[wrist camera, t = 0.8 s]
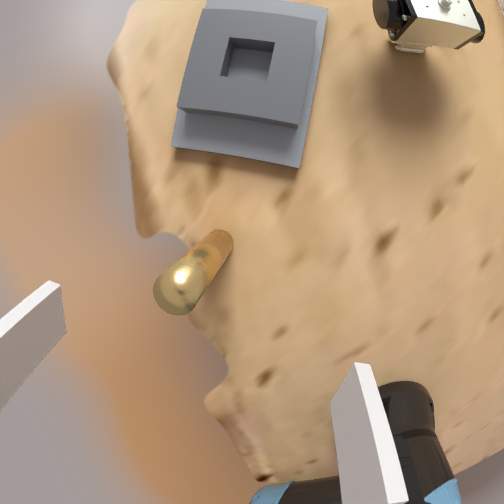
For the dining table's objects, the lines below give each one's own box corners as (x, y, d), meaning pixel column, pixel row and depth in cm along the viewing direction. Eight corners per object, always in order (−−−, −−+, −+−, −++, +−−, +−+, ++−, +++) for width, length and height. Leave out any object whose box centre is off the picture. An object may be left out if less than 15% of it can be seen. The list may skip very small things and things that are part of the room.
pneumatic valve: (449, 62, 25) (500, 32, 14) (367, 55, 27) (401, 9, 15) (437, 26, 24) (481, -12, 12) (356, 17, 25) (381, -36, 14)
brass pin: (230, 259, 35) (194, 320, 20) (204, 253, 35) (152, 308, 20) (235, 232, 34) (199, 278, 19) (208, 227, 34) (154, 267, 20)
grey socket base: (298, 168, 31) (301, 167, 27) (175, 147, 32) (160, 144, 28) (326, 14, 26) (331, -4, 21) (211, 1, 26) (203, -17, 22)
